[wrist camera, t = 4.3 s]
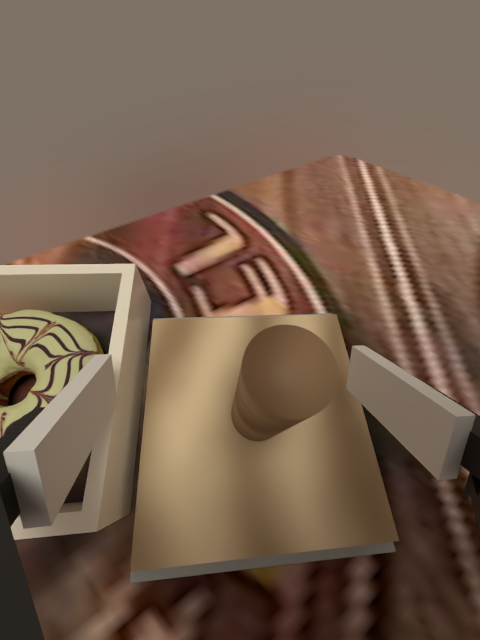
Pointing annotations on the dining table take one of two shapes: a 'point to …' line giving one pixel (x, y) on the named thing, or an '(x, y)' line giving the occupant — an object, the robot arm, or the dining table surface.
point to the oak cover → (253, 444)
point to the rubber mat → (259, 561)
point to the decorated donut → (40, 358)
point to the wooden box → (128, 366)
